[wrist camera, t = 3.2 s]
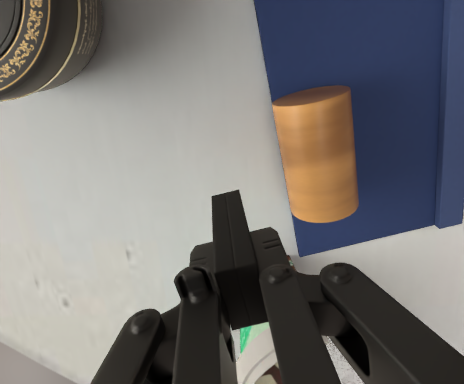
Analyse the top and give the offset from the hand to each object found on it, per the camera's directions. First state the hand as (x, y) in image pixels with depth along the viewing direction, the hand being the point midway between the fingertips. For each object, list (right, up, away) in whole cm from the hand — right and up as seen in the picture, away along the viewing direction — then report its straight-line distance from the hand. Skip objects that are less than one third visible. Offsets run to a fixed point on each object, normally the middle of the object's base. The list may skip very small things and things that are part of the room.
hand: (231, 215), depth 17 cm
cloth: (+10, +7, +6) cm, 14 cm away
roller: (+6, +4, +4) cm, 8 cm away
